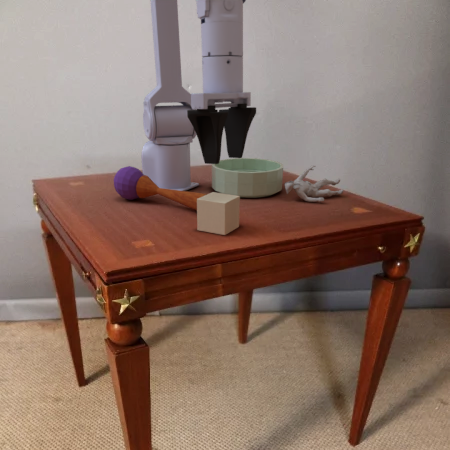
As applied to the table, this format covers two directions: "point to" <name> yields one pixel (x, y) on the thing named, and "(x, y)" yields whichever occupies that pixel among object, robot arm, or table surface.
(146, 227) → the table surface
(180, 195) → the purple wooden maraca
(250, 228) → the table surface
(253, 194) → the bowl
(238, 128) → the robot arm
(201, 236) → the table surface
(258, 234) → the table surface
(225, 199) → the cube
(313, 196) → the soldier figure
